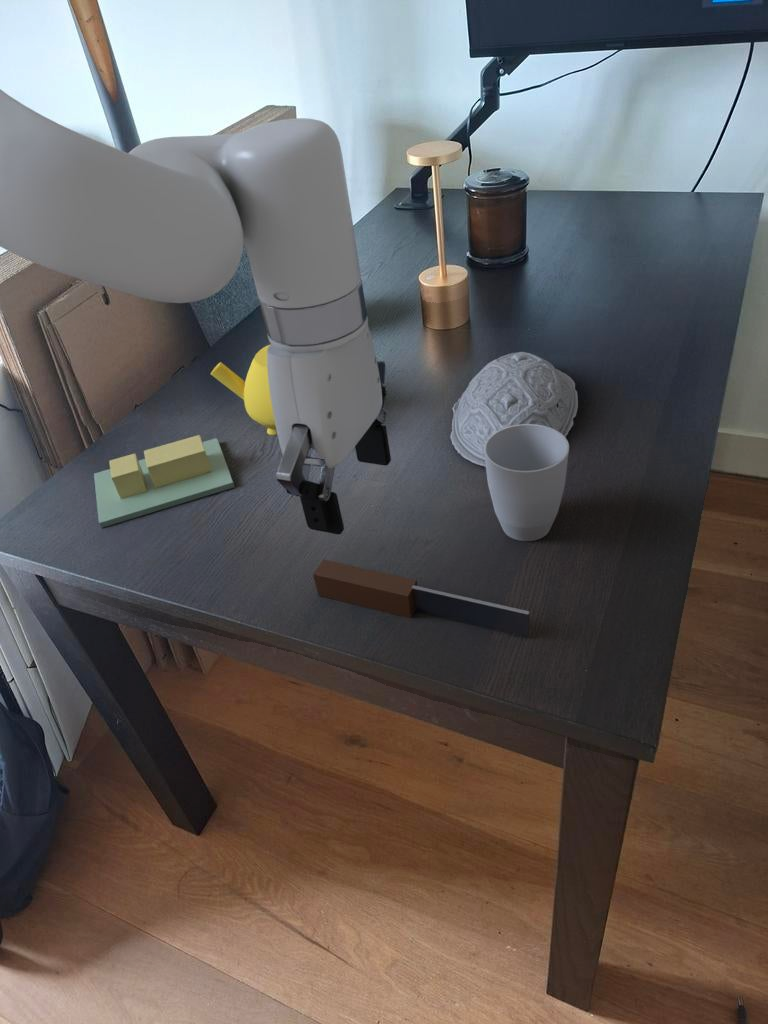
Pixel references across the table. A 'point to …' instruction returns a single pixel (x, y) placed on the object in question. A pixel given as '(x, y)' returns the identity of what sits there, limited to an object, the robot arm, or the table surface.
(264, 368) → the teapot
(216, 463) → the butter dish
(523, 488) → the cup
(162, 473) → the butter block
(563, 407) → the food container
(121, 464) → the block
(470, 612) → the knife
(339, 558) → the table surface
